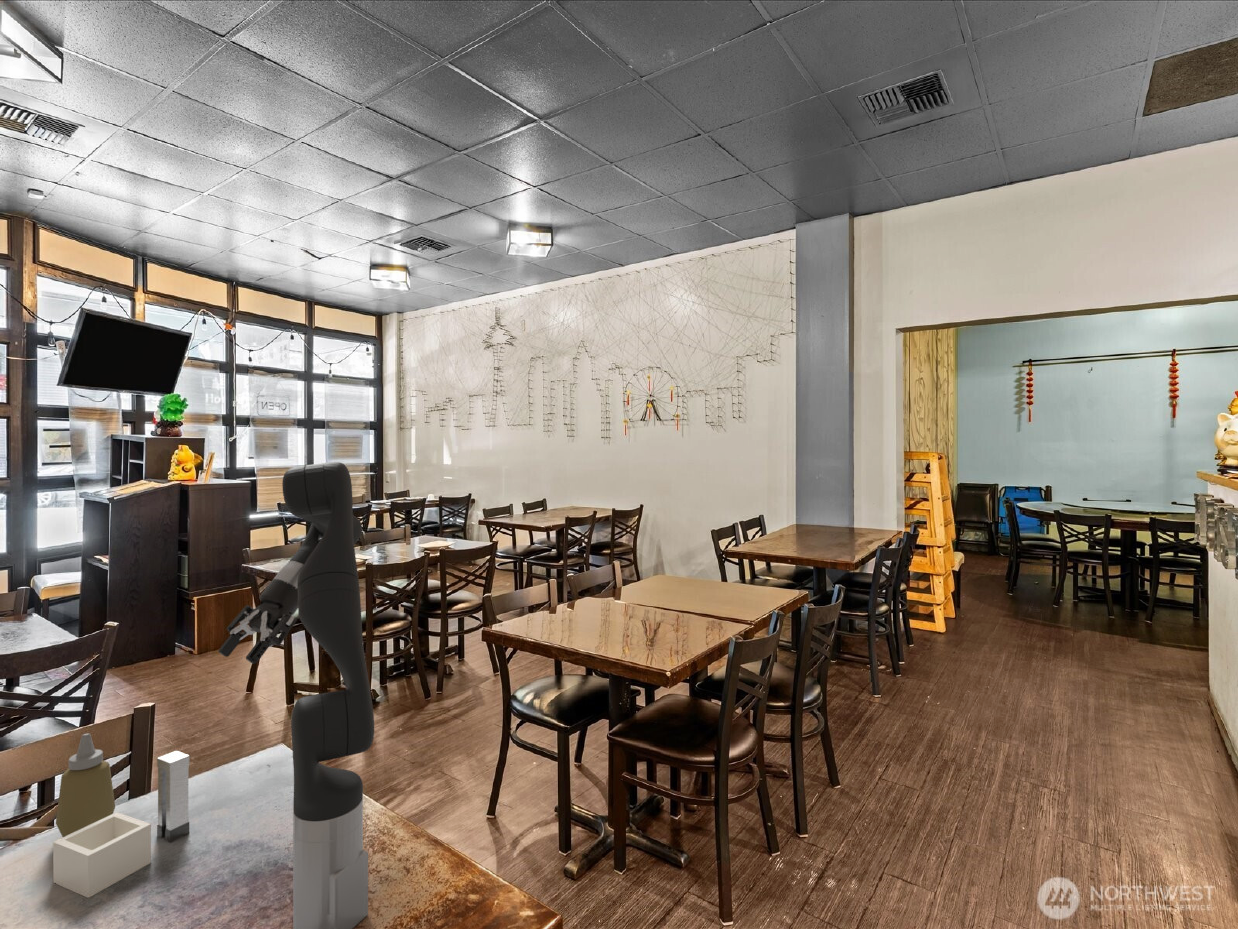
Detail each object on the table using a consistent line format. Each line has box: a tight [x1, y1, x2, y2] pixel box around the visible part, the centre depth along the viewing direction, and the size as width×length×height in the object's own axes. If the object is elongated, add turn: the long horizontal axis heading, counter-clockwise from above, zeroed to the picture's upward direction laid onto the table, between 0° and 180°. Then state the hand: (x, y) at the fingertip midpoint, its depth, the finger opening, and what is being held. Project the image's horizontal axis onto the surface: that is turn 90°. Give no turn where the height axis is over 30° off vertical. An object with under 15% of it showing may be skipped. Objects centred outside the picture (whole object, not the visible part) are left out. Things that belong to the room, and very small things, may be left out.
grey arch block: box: [156, 750, 190, 843], centre depth 112 cm, size 4×3×14 cm
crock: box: [52, 811, 152, 899], centre depth 102 cm, size 9×9×6 cm
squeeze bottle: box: [55, 733, 116, 838], centre depth 111 cm, size 8×8×18 cm
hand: (236, 658), depth 122 cm, fingers open, 8 cm apart
